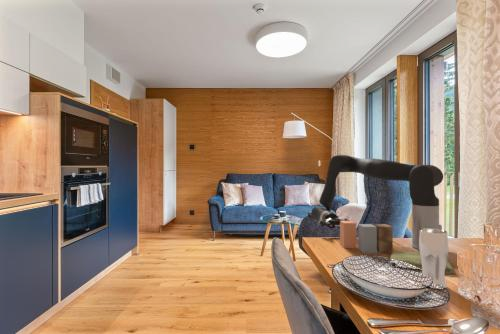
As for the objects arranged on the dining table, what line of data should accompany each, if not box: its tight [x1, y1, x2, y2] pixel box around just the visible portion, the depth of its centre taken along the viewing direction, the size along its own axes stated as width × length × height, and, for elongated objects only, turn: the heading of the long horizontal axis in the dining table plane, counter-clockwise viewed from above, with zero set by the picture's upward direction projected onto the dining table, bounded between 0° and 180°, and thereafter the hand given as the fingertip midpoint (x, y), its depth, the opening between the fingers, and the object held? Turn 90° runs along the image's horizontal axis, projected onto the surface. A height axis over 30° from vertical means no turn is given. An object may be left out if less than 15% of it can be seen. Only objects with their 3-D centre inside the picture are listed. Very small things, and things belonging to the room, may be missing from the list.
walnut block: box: [372, 223, 394, 254], centre depth 108 cm, size 5×5×10 cm
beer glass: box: [418, 228, 449, 288], centre depth 77 cm, size 7×7×15 cm
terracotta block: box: [339, 220, 357, 249], centre depth 115 cm, size 5×5×10 cm
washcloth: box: [389, 251, 455, 275], centre depth 93 cm, size 13×18×3 cm
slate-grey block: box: [357, 223, 378, 254], centre depth 108 cm, size 5×5×10 cm
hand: (339, 225), depth 126 cm, fingers open, 8 cm apart
